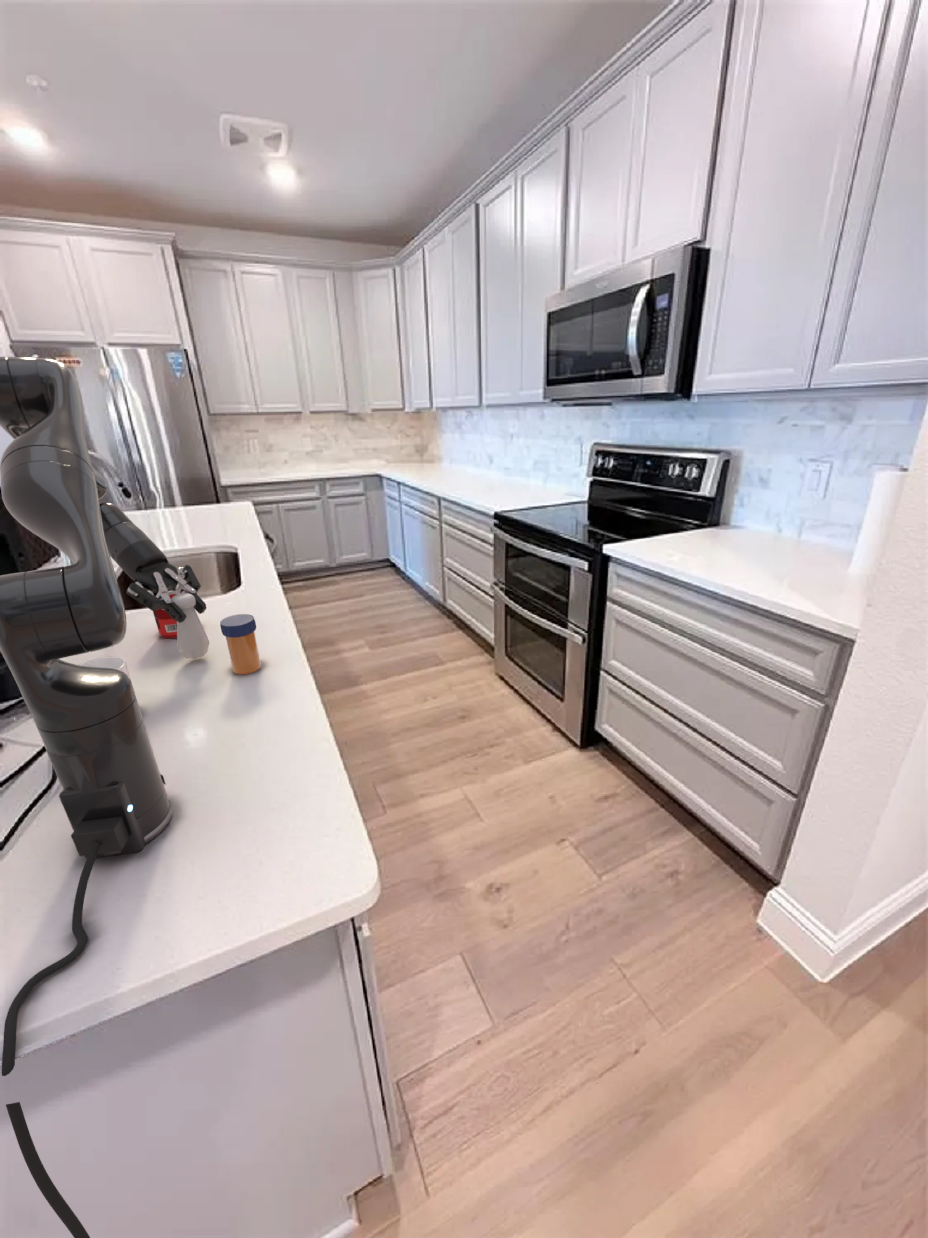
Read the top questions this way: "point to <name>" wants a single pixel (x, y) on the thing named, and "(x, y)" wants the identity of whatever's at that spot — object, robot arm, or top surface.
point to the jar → (244, 653)
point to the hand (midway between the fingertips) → (193, 615)
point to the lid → (238, 625)
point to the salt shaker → (190, 629)
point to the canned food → (166, 621)
